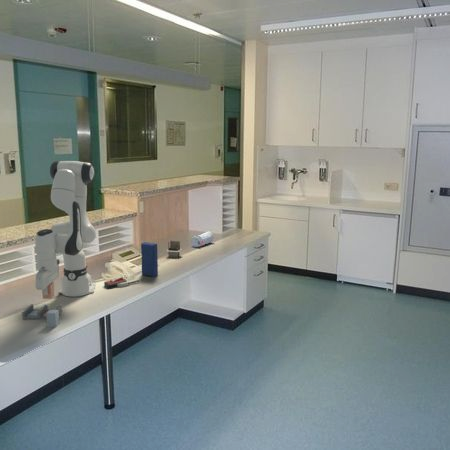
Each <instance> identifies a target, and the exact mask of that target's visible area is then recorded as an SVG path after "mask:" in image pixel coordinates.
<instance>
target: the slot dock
mask: <svg viewBox="0 0 450 450" xmlns="http://www.w3.org/2000/svg"><path fill="white" fill-rule="evenodd" d="M48 308H49V307H48V304H44V305H43V306H42V307H41V308H40V309H39V308H37V309H34V304H30V305H29V306H28V307H27V308H25V309H24V310H23V311H22V315H21V316H22V320H38V321H39V320H46V321H47V315H46V313H47V312H48V311H49V310H59V316H60V315H61V314H62V312H63V304H59V305H58V306H57V307H56V308H53V309H48Z"/></svg>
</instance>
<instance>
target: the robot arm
mask: <svg viewBox="0 0 450 450" xmlns="http://www.w3.org/2000/svg"><path fill="white" fill-rule="evenodd" d="M49 175H50V177H51V178H52V180H53V182H52V184H51V191H50V201H51V203H52V204H53V205H54V206H55V208H57V209H59V210H61V211H63V212H65V213H66V214H67V215H68V217H69V221H59V222H54V223H53V224H52V225H51V227H50V228H46V229H41V230H39V231H37V232H36V235H35V241H34V242H35V243H34V245H35V246H34V248H35V252H36V258H35V261H36V262H35V263H36V270H38V272H36V274H35V289H36V290H41V291H42V290H43V292H44V295H48V290H47V288H48V285H50V284H51V283H54V282H55V280H57V279H58V278H59V276H60V262H61V261H60V259H58V258H57V255H56V254H58V255H62V257H63V266H64V267H63V271H62V272H63V276H62V277H61V285H60V286H61V288H60V290H58V293H59V294H62V295H63V296H66V297H82V296H85V295H89V294H93V293H95V289H96V285H97V284H96V282H92V275H90V274H89V273H88V264H86V263H87V262H86V253H85V252H84V250H83V245H86V244H91V243H93V242H94V241H95V239H96V236H97V231H96V228H95V227H94V226H93V225H92V223H91V222H90V220H89V218H88V214H87V199H88V198H87V195H88V187H87V186H88V184H90V183H91V182H92V181H93V179H94V176H95V169H94V166H93V164H92V163H90V162H86V161H78V160H55V161H52V162H51V164H50V166H49ZM54 284H55V283H54Z"/></svg>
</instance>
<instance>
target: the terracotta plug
mask: <svg viewBox="0 0 450 450" xmlns="http://www.w3.org/2000/svg"><path fill="white" fill-rule="evenodd" d="M54 284H55V283H51V284H50V285H48V288H47V290H48V295H44V292H43V290H41V291H42V292H41V293H42V299H44V300H47V299H48V300H51V299H53V298H54V297H55V285H54Z"/></svg>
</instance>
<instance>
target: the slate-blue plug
mask: <svg viewBox="0 0 450 450" xmlns="http://www.w3.org/2000/svg"><path fill="white" fill-rule="evenodd" d="M46 315H47V320H46V327H47V328H57V327H58V326H59V324H60V315H59V310H49V311H48V312H47V313H46Z"/></svg>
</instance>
